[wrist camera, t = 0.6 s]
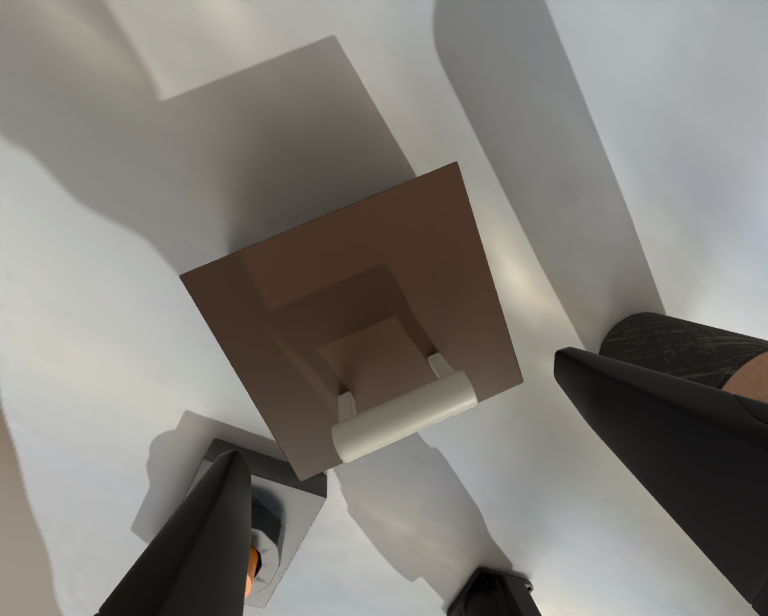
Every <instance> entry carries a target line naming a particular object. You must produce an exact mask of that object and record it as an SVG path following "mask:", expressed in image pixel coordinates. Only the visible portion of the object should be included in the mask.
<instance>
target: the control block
mask: <svg viewBox="0 0 768 616" xmlns="http://www.w3.org/2000/svg"><path fill="white" fill-rule="evenodd" d="M231 450H238V451H239V452H240V454H241V456H242V457H243V459H244V461H245V463H246V464H247V466H248V468H249V470H250V473H251V545H252V546H253V547H254V548H255V549H256V551H257V554H258V561H257V566H256V570H255V575H254V579H253V584H252V588H251V591H250V593H249V595H248V596H247V597H246V599H245V600H244V604H246V605H250V606H255V607H260V608H265V606H266V605H267V603H268V601H269V599H270V597H271V596H272V594H273V592H274V590H275V589H276V587H277V585H278V583H279V582H280V580H281V578H282V576H283V574H284V573H285V571H286V569H287V567H288V566H289V564H290V562H291V560H292V558H293V557H294V555H295V553H296V551H297V550H298V548H299V546H300V544H301V543H302V541H303V539H304V537H305V535H306V534H307V532H308V530H309V528H310V527H311V525H312V523H313V521H314V520H315V518H316V516H317V514H318V512H319V511H320V509H321V507H322V505H323V504H324V502H325V500H326V498H327V476H325V475H322V474H317V475H314V476H312V477H310V478H308V479H305V480H303V481H300V480H299V478H298V477H297V475H296V473H295V472H294V470H293V468H292V467H291V465H290V464H289V463H286V462H283V461H280V460H277V459H274V458H271V457H268V456H265V455H262V454H259V453H256V452H253V451H250V450H247V449H244V448H241V447H238V446H235V445H232V444H229V443H226V442H223V441H220V440H217V439H213V441H212V443H211V445H210V447H209V448H208V450H207V452H206V454H205V456H204V457H203V459H202V461H201V464H200V466H199V468H198V470H197V472H196V474H195V476H194V478H193V480H192V482H191V484H190V486H189V488H188V491H187V493H186V495H185V497H184V499H185V498H186V497H187V496H188V494H189V493H190V492H191V490H192V489H193V488H194V487H195V485H196V484H197V483H198V481H199V480H200V479H201V478H202V476H203V475H204V474H205V472H206V471H207V470H208V469H209V467H210V466H211V465H212V463H213V462H214V461H215V460H216V458H217V457H218V456H219V455H220V454H222V453H225V452H228V451H231ZM184 499H183V501H184ZM183 501H182V502H183Z"/></svg>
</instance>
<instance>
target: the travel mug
mask: <svg viewBox="0 0 768 616" xmlns="http://www.w3.org/2000/svg"><path fill="white" fill-rule="evenodd" d="M599 355H601V356H605V357H608V358H612V359H615V360H619V361H622V362H626V363H629V364H633V365H636V366H640V367H643V368H647V369H650V370H654V371H657V372H661V373H664V374H668V375H671V376H675V377H678V378H682V379H685V380H689V381H692V382H696V383H699V384H703V385H706V386H710V387H713V388H717V389H720V390H724V391H727V392H730V393H731V394H738V395H741V396H745V397H748V398H752V399H755V400H759V401H763V402H766V403H768V341H767V340H763V339H759V338H755V337H751V336H746V335H742V334H738V333H734V332H730V331H726V330H722V329H718V328H714V327H710V326H706V325H702V324H698V323H694V322H690V321H686V320H682V319H678V318H674V317H669V316H665V315H661V314H656V313H639V314H635V315H632V316H630V317H628V318H626V319H624V320H623V321H621V322H620V323H619V324H617V325H616V326H615V327H614V328H613V329H612V330H611V332H610V333H609V334H608V336H607V337H606V339H605V340H604V342H603V344H602V347H601V350H600V354H599Z"/></svg>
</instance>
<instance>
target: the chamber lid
mask: <svg viewBox="0 0 768 616" xmlns="http://www.w3.org/2000/svg"><path fill="white" fill-rule="evenodd" d="M179 277H180V279H181V280H182V282H183V284H184V286H185V287H186V289H187V291H188V292H189V294H190V296H191V297H192V299H193V301H194V302H195V304H196V306H197V308H198V309H199V311H200V313H201V314H202V316H203V318H204V319H205V321H206V323H207V324H208V326H209V328H210V330H211V331H212V333H213V335H214V336H215V338H216V340H217V341H218V343H219V345H220V346H221V348H222V350H223V352H224V353H225V355H226V357H227V358H228V360H229V362H230V363H231V365H232V367H233V368H234V370H235V372H236V374H237V375H238V377H239V379H240V380H241V382H242V384H243V385H244V387H245V389H246V390H247V392H248V394H249V396H250V397H251V399H252V401H253V402H254V404H255V406H256V407H257V409H258V411H259V412H260V414H261V416H262V417H263V419H264V421H265V423H266V424H267V426H268V428H269V429H270V431H271V433H272V434H273V436H274V438H275V439H276V441H277V443H278V445H279V446H280V448H281V450H282V451H283V453H284V455H285V456H286V458H287V460H288V461H289V463H290V465H291V467H292V468H293V470H294V472H295V473H296V475H297V477H298V478H299V480H300V481H303V480H305V479H308V478H310V477H312V476H314V475H317V474H319V473H321V472H323V471H326V470H328V469H330V468H332V467H335V466H337V465H339V464H341V463H349V462H351V461H353V460H355V459H357V458H360V457H362V456H364V455H366V454H369V453H371V452H373V451H375V450H378V449H380V448H382V447H384V446H387V445H389V444H391V443H393V442H396V441H398V440H400V439H402V438H405V437H407V436H409V435H411V434H414V433H416V432H418V431H420V430H423V429H425V428H427V427H429V426H432V425H434V424H436V423H438V422H441V421H443V420H445V419H447V418H450V417H452V416H454V415H456V414H459V413H461V412H463V411H465V410H468V409H470V408H472V407H474V406H476V405H477V404H478V403H479V402H481V401H483V400H485V399H488V398H490V397H492V396H494V395H496V394H499V393H501V392H503V391H505V390H508V389H510V388H512V387H514V386H517V385H519V384H521V383H523V378H522V375H521V372H520V368H519V365H518V362H517V358H516V355H515V352H514V348H513V345H512V342H511V338H510V335H509V332H508V328H507V325H506V322H505V318H504V315H503V312H502V309H501V305H500V302H499V299H498V295H497V292H496V289H495V285H494V282H493V279H492V275H491V272H490V269H489V265H488V262H487V259H486V255H485V252H484V249H483V245H482V242H481V239H480V235H479V232H478V229H477V225H476V222H475V219H474V215H473V212H472V209H471V205H470V202H469V199H468V195H467V192H466V189H465V185H464V182H463V179H462V175H461V172H460V169H459V165H458V162H453V163H451V164H449V165H446V166H444V167H441V168H439V169H436V170H434V171H432V172H429V173H427V174H424V175H422V176H419V177H417V178H415V179H412V180H410V181H407V182H405V183H402V184H400V185H398V186H395V187H393V188H390V189H388V190H385V191H383V192H381V193H378V194H376V195H373V196H371V197H368V198H366V199H364V200H361V201H359V202H356V203H354V204H351V205H349V206H347V207H344V208H342V209H339V210H337V211H334V212H332V213H330V214H327V215H325V216H322V217H320V218H317V219H315V220H313V221H310V222H308V223H305V224H303V225H300V226H298V227H296V228H293V229H291V230H288V231H286V232H283V233H281V234H279V235H276V236H274V237H271V238H269V239H266V240H264V241H261V242H259V243H257V244H254V245H252V246H249V247H247V248H244V249H242V250H240V251H237V252H235V253H232V254H230V255H227V256H225V257H223V258H220V259H218V260H215V261H213V262H210V263H208V264H206V265H203V266H201V267H198V268H196V269H193V270H191V271H189V272H186V273H184V274H181V275H180V276H179Z"/></svg>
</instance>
